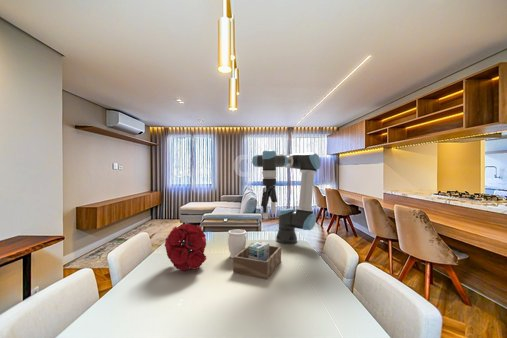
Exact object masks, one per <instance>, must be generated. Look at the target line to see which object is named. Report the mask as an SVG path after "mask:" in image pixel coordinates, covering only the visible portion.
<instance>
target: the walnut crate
mask: <svg viewBox="0 0 507 338" xmlns="http://www.w3.org/2000/svg"><path fill="white" fill-rule="evenodd" d="M254 243H255V242H251V243H250V244H248V245H247V246H245V249H243V250H242V251H240V252H239V253H238V254H236V255H235V256H234V257H233V258H232V259H233V261H232V262H233V265H232V266H233V267H232V268H233V269H232V271H233V272H232V273H233V274H238V275H242V276H243V275H245V276H248V277H253V278H258V279H263V280H268V279H269V278H270V276H271V275H272V274H273V272H274V271H275V270H276V268H277V267H278V266H279V264H280V263H281V262H282V246H275V245H270V244H269V259H268V260H267V261H260V260H254V259H249V246H250V245H252V244H254Z"/></svg>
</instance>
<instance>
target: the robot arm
mask: <svg viewBox="0 0 507 338" xmlns="http://www.w3.org/2000/svg"><path fill="white" fill-rule="evenodd" d="M251 163H252V165H253V167H255V168H262V172H261V174H262V185H263V186H264V187H263V188H262V196H261V203H260V207H262V219H265V220H266V219H267V220H268V219H269V206H268V204H269V201H270V214H274V215H275V214H277V207H276V205H277V202H278V198H277V192H276V191H277V190H276V185H277V179H276V178H277V168H287V169H288V168H289V169H296V170H299V171H300V173H301V176H300V177H301V180H300V190H299V201H298V207H297V208H291V207H290V208H281V209H280V210H279V211H278V230H277V233H276V236H275V241H276V242H278V243H281V244H295V243H297V242H298V237H297V234H296V229H298V230H303V231H311V230H313V229H314V227H315V226H316V223H317V215H316V214H315V213H314V210H313V209H312V206H313V205H312V202H313V193H314V192H313V191H314V179H315V174H316V173H317V171H318V170H319V169H320V167H321V159H320V156H319V155H318V154H317V153H315V152H303V153H302V152H301V153H299V152H298V153H291V154H279V153H277V151H276V150H272V149H270V150H269V149H267V150H263V151H262V154H255V155H254V156H252V159H251Z"/></svg>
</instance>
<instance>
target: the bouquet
mask: <svg viewBox="0 0 507 338" xmlns="http://www.w3.org/2000/svg"><path fill="white" fill-rule="evenodd" d="M164 247H165V251H166V256H167V258H168V259H169V261H170V262H171V263H172V264H173V267H174V268H176V269H177V270H179V271H181V270H182V271H188V270H189V269H192V270H194V269H198V268H199V267H200V266H202V264H204V262H205V261H206V260H207V255H205V250H206V247H207V237H206V234H205V232H204V231H203V229H201V227H200V225H199V224H196V225H193V224H191V223H184V224H181V225H179V226H174V227H173V228H172V230H170V232H169V234H168V235H167V237H166V238H165V241H164Z"/></svg>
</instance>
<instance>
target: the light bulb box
mask: <svg viewBox="0 0 507 338" xmlns="http://www.w3.org/2000/svg"><path fill="white" fill-rule="evenodd" d="M253 243H254V244H252V245H250V244H249V245H250V246H249V245H248V246H249V259H254V260H260V261H267V260H268V259H269V245H270V243H269V242H265V241H264V242H263V241H257V242H253Z"/></svg>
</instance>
